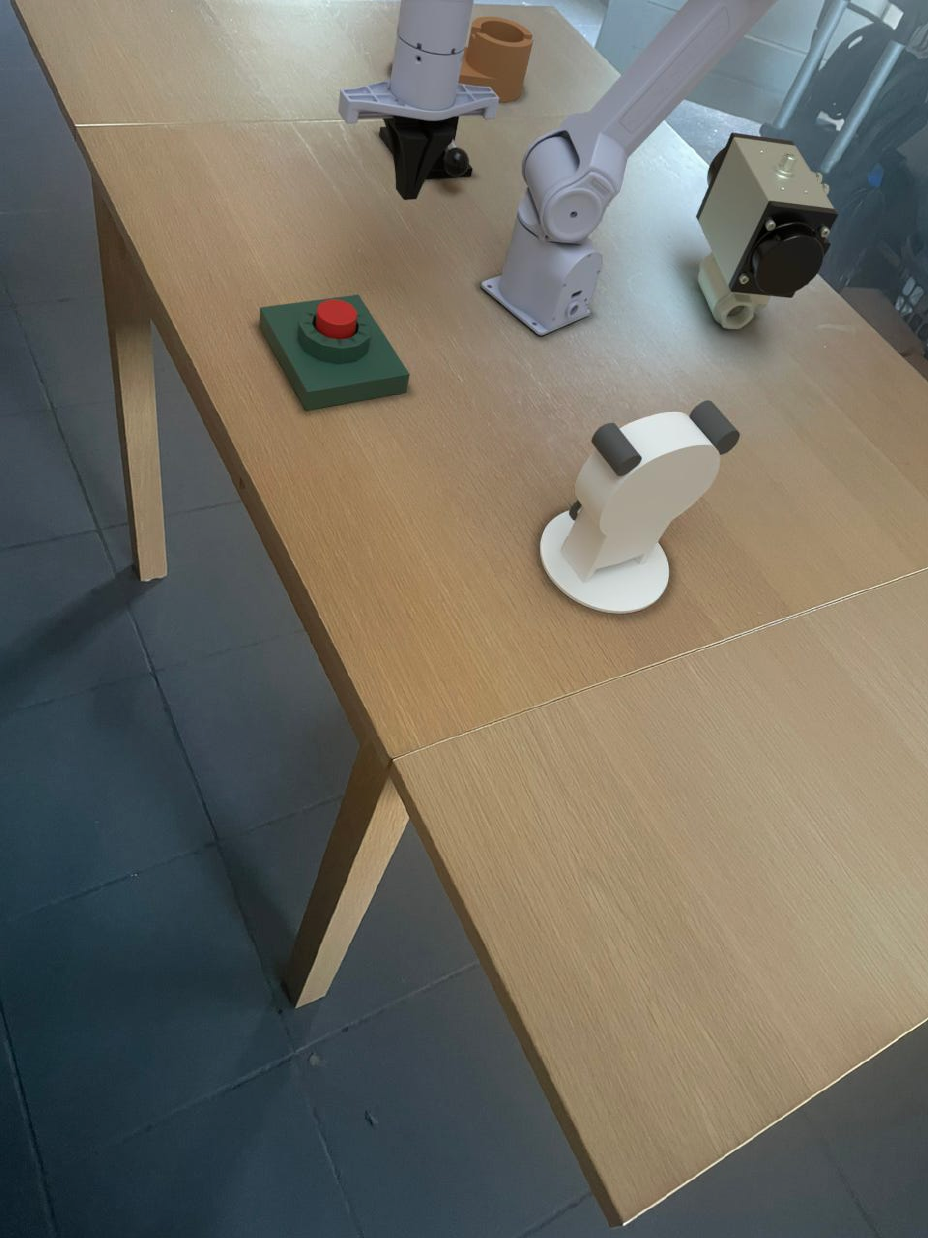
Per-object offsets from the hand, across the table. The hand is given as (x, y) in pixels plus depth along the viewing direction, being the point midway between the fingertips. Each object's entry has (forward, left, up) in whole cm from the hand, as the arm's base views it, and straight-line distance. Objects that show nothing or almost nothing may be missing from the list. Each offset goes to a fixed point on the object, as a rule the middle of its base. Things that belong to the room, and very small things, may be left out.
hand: (406, 193), depth 87 cm
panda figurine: (-38, +7, -11) cm, 40 cm away
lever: (+16, -20, -7) cm, 26 cm away
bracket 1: (+32, -38, -11) cm, 51 cm away
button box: (-6, +12, -10) cm, 17 cm away
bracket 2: (+19, -21, -10) cm, 30 cm away
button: (-6, +12, -7) cm, 15 cm away
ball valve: (-20, -33, -11) cm, 40 cm away
